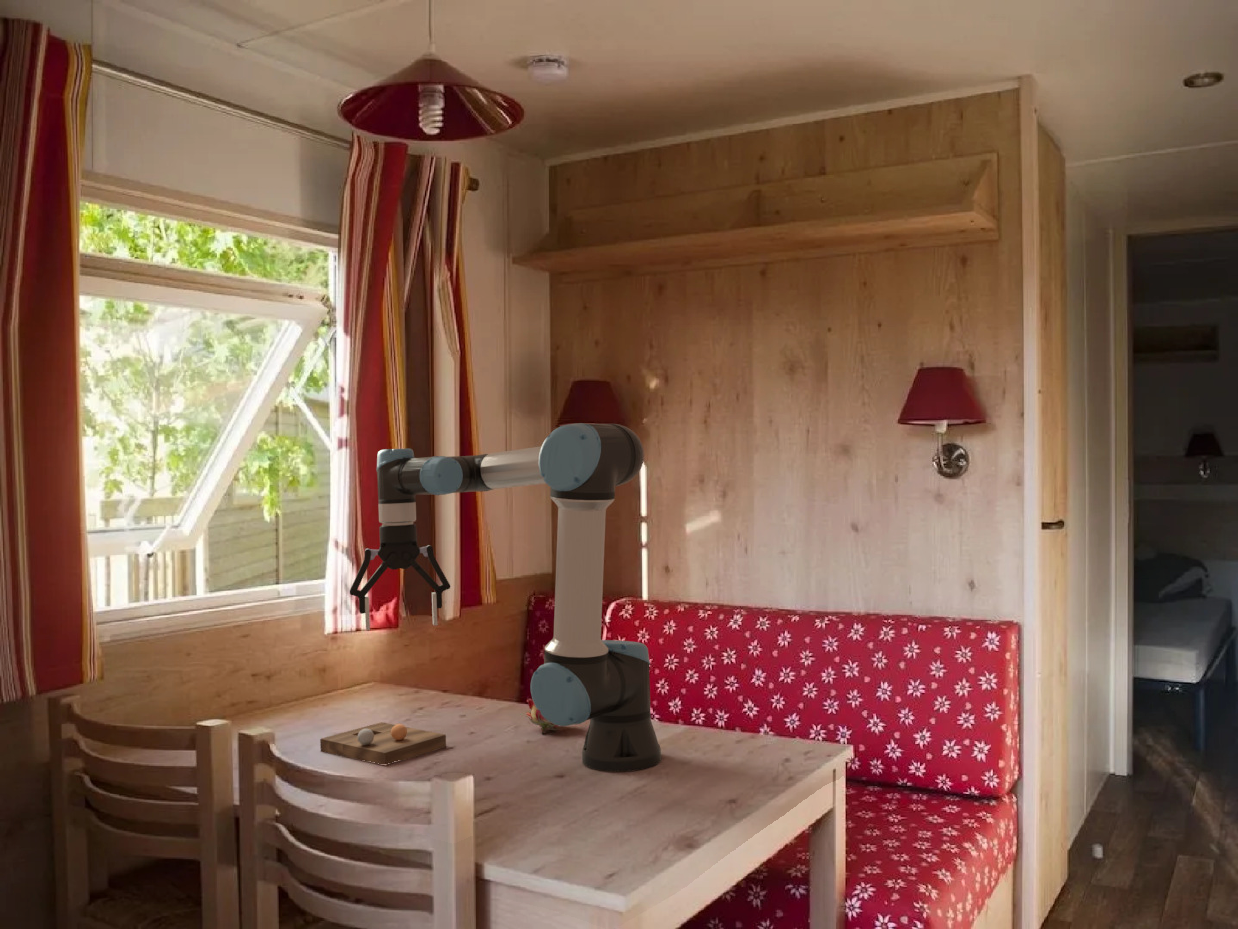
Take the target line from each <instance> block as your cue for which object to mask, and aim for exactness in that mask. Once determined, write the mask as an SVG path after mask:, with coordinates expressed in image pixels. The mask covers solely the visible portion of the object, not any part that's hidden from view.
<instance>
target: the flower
mask: <svg viewBox="0 0 1238 929" xmlns="http://www.w3.org/2000/svg"><path fill="white" fill-rule="evenodd" d="M526 702H527V704H528V708H529V710H530V711H529V712H526V717H527V719H529V721H530V722H531V723H532V724H534V725H535V726H539V727H541V731H540V733H541V734H542V735H545V733H546V730H547V729H549V730H550V731H558V730H562V728H557V727H559V726H558V725H555V724H553V723H551V722H549V721H548V720H546V719H545V718H544V717H543V716H542V715H541V712H540V710H538V709H537V708H536V706H535V704H534V702H533V699H532V698H528V699H526Z"/></svg>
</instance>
